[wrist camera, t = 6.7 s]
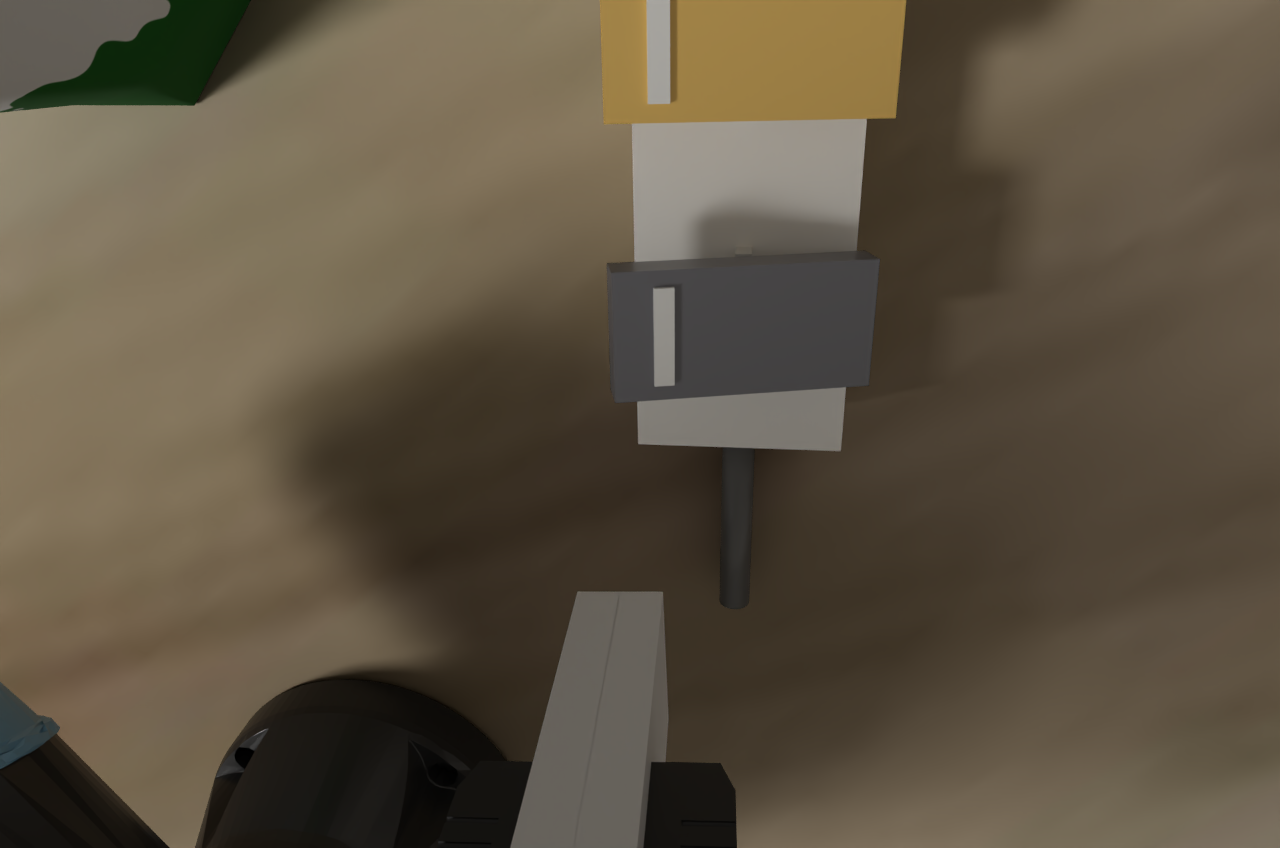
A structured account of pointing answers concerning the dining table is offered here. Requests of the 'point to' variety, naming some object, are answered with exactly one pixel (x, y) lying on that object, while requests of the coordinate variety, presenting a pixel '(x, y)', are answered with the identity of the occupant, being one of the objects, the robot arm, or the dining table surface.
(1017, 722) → the dining table surface
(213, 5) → the milk carton
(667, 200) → the rocker switch panel
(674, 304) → the block
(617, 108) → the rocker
